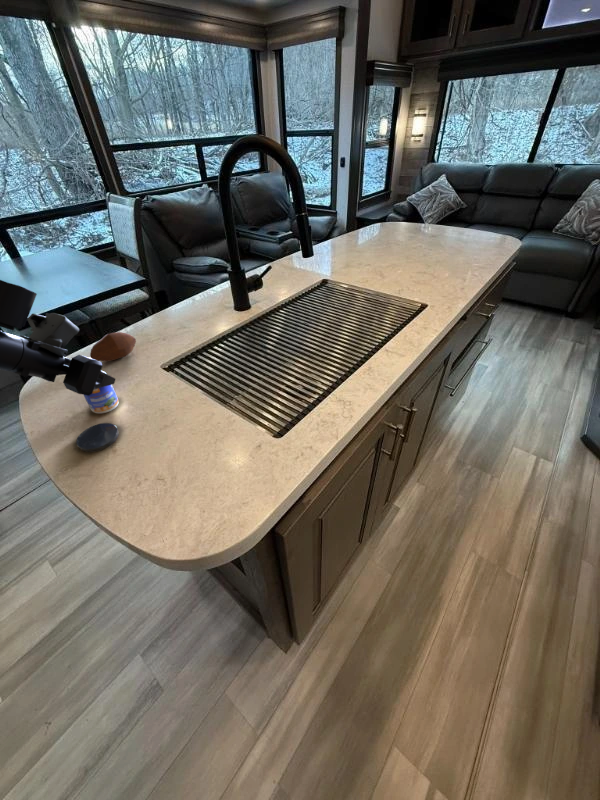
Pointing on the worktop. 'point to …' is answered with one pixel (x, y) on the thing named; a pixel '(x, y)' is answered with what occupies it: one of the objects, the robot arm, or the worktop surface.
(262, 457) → the worktop surface
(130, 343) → the potato
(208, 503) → the worktop surface
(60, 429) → the worktop surface
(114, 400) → the pill bottle
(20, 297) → the robot arm
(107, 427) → the coaster
